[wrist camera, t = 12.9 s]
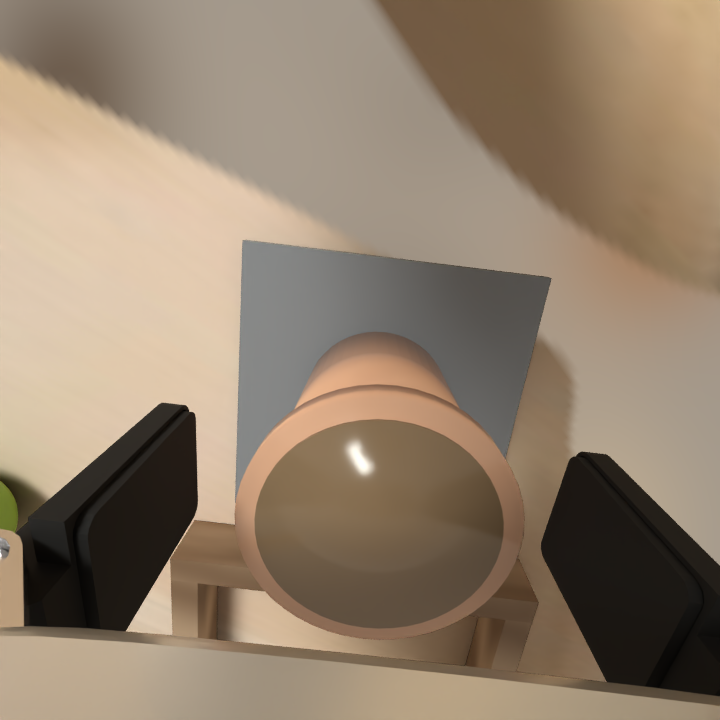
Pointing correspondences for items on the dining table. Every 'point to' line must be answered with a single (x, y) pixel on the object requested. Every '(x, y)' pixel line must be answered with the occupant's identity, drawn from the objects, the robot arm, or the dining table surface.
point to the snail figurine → (7, 509)
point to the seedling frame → (227, 568)
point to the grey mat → (380, 329)
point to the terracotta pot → (379, 498)
